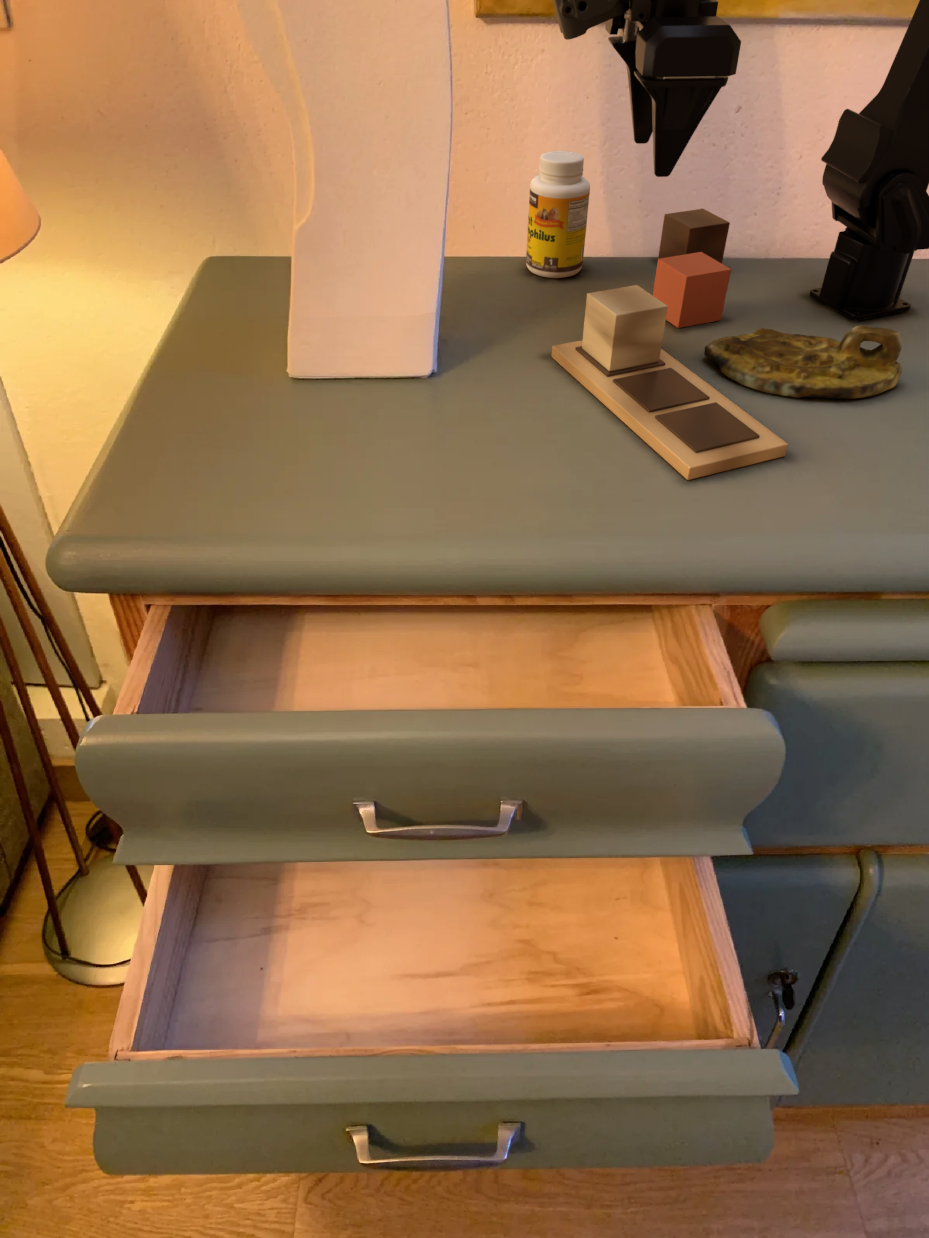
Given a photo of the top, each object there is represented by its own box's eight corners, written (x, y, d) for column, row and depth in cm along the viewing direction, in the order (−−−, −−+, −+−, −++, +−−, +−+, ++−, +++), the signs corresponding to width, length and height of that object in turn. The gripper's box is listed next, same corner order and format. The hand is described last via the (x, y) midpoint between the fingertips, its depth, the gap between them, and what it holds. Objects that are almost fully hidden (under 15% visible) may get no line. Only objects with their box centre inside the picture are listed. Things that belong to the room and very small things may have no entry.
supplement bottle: (514, 267, 88) (518, 154, 81) (557, 255, 90) (565, 144, 83) (550, 285, 84) (558, 168, 78) (594, 272, 87) (605, 158, 80)
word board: (635, 341, 75) (644, 273, 72) (785, 456, 62) (806, 380, 58) (550, 357, 73) (556, 288, 69) (687, 480, 59) (703, 403, 56)
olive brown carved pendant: (697, 399, 70) (899, 420, 67) (707, 345, 66) (921, 365, 64) (705, 337, 76) (890, 354, 73) (714, 285, 72) (910, 301, 70)
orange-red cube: (692, 301, 82) (701, 251, 79) (721, 320, 79) (731, 269, 76) (650, 309, 80) (657, 258, 77) (677, 328, 77) (686, 276, 74)
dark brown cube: (695, 254, 91) (703, 208, 88) (721, 270, 88) (730, 222, 85) (657, 260, 89) (664, 214, 86) (682, 276, 86) (690, 228, 83)
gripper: (548, -103, 66) (538, 130, 77) (577, -82, 53) (560, 198, 63) (697, -105, 66) (667, 128, 77) (765, -85, 53) (717, 195, 63)
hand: (650, 159), depth 70 cm, fingers open, 9 cm apart
